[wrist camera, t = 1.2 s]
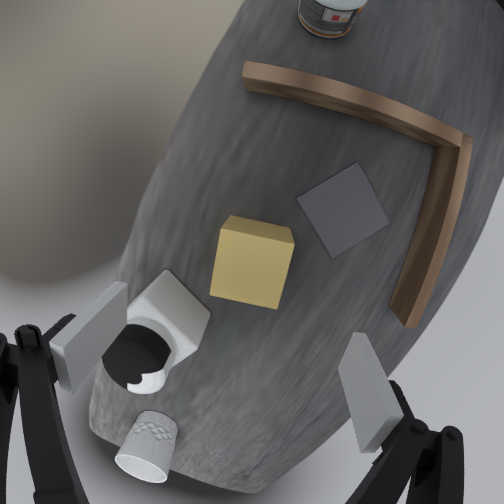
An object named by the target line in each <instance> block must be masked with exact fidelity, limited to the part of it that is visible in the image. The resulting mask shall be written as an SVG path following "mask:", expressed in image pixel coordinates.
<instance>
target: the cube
mask: <svg viewBox="0 0 504 504" xmlns="http://www.w3.org/2000/svg"><path fill="white" fill-rule="evenodd" d="M294 245H295V244H294V240H293V237H292V233H291V230H290V228H288V227H283V226H279V225H275V224H270V223H266V222H261V221H256V220H252V219H247V218H242V217H238V216H233V215H230V216H229V218H228V219H227V221H226V222H225V223H224V225H223V226H222V228H221V231H220V236H219V242H218V247H217V253H216V259H215V264H214V270H213V276H212V282H211V288H210V294H209V295H212V296H216V297H221V298H225V299H230V300H234V301H239V302H243V303H248V304H253V305H258V306H262V307H267V308H272V309H277V308H278V305H279V301H280V297H281V294H282V290H283V287H284V283H285V279H286V276H287V272H288V268H289V264H290V261H291V257H292V253H293V249H294Z"/></svg>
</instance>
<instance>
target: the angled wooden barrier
mask: <svg viewBox="0 0 504 504" xmlns="http://www.w3.org/2000/svg"><path fill="white" fill-rule="evenodd" d="M241 77H242V80H243V83H244V86H245V89H246V91H252V92H258V93H263V94H268V95H273V96H278V97H283V98H287V99H292V100H296V101H300V102H305V103H309V104H312V105H316V106H320V107H324V108H327V109H331V110H335V111H338V112H341V113H345V114H348V115H351V116H354V117H357V118H361V119H364V120H367V121H369V122H372V123H375V124H378V125H381V126H384V127H386V128H389V129H392V130H394V131H397V132H400V133H402V134H405V135H407V136H410V137H412V138H414V139H417V140H419V141H422V142H424V143H426V144H428V145H431V146H433V147H435V150H434V155H433V160H432V165H431V170H430V175H429V179H428V183H427V188H426V192H425V196H424V200H423V204H422V207H421V211H420V215H419V218H418V222H417V225H416V229H415V232H414V235H413V239H412V242H411V245H410V248H409V251H408V254H407V257H406V260H405V263H404V266H403V269H402V271H401V274H400V277H399V280H398V282H397V285H396V288H395V290H394V293H393V295H392V298H391V300H390V303H389V306H390V307H391V309H392V310H393V311H394V313H395V314H396V316H397V317H398V318H399V320H400V321H401V323H402V324H403V325H404V327H408V328H415V329H416V327H417V325H418V323H419V321H420V318H421V316H422V314H423V312H424V309H425V307H426V305H427V302H428V300H429V298H430V295H431V293H432V290H433V288H434V285H435V283H436V280H437V278H438V275H439V272H440V270H441V267H442V264H443V261H444V258H445V255H446V252H447V249H448V246H449V243H450V240H451V237H452V234H453V230H454V227H455V223H456V220H457V216H458V212H459V209H460V205H461V201H462V197H463V192H464V188H465V183H466V179H467V174H468V169H469V163H470V158H471V152H472V145H473V138H471V137H470V136H468V135H466V134H464V133H462V132H461V131H459V130H457V129H455V128H453V127H451V126H449V125H447V124H445V123H443V122H441V121H439V120H437V119H435V118H433V117H431V116H429V115H427V114H425V113H422V112H420V111H418V110H416V109H413V108H411V107H409V106H406V105H404V104H402V103H399V102H397V101H394V100H392V99H389V98H386V97H384V96H381V95H378V94H376V93H373V92H370V91H367V90H364V89H361V88H358V87H355V86H352V85H349V84H346V83H343V82H339V81H336V80H333V79H329V78H325V77H322V76H318V75H314V74H310V73H306V72H302V71H298V70H293V69H288V68H284V67H279V66H274V65H268V64H263V63H257V62H250V61H245V63H244V67H243V71H242V75H241Z"/></svg>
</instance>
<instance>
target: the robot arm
mask: <svg viewBox="0 0 504 504" xmlns="http://www.w3.org/2000/svg"><path fill="white" fill-rule="evenodd" d="M497 1H498V2H499V3H500V5H501V6H502V7H503V8H504V0H497ZM127 295H128V284H127V283H123V282H120V281H115V282H114V283H113V284H112V285H111V286H110V287H108V288H107V289H106V290H105V291H104V292H103V293H101V294H100V295H99V296H98V297H97V298H96V299H95V300H93V301H92V302H91V303H90V304H89V305H88V306H87V307H86V308H85V309H84V310H82V311H81V312H80V313H79V314H78V315H74V314H69V315H67V316H64V317H63V318H61V319H60V320H59V321H58V323H56V324H55V325H54V326H53V327H52V328H50V329H49V330H48V331H47V332H46V333H45V334H44V335H43V336H42V335H41V331H40V329H39V328H38V327H37V326H35V325H30V324H29V325H28V324H27V325H22V326H20V327H18V328H17V329H16V330H15V333H14V335H15V339H16V343H17V345H13V344H9V343H8V342H7V338H6V336H5V335H4V334H2V333H0V504H6V473H7V460H8V459H7V458H8V449H9V441H10V433H11V426H12V420H13V414H14V409H15V404H16V398H17V394H18V390H19V396H20V408H21V417H22V426H23V433H24V439H25V445H26V450H27V456H28V461H29V465H30V470H31V474H32V477H33V482H34V486H35V492H34V493H33V498H34V502H35V504H89V502H88V499H87V497H86V494H85V492H84V489H83V487H82V484H81V482H80V479H79V476H78V473H77V471H76V467H75V465H74V462H73V458H72V455H71V452H70V449H69V446H68V442H67V438H66V435H65V431H64V427H63V423H62V420H61V415H60V411H59V406H58V401H57V396H56V391H55V387H54V383H55V382H56V381H57V380H58V381H59V384H60V388H62V389H64V390H66V391H68V392H70V393H72V394H74V393H75V391H76V390H77V389H78V387H79V386H80V384H81V383H82V382H83V381H84V379H85V378H86V377H87V375H88V374H89V373H90V371H91V370H92V369H93V367H94V366H95V365H96V363H97V362H98V361H99V359H100V358H101V357H102V355H103V354H104V353H105V352H106V350H107V349H108V348H109V346H110V345H111V344H112V342H113V341H114V340H115V339H116V337H117V336H118V335H119V334H120V332H121V331H122V330H123V329H124V327H125V326H126V325H127ZM338 371H339V374H340V378H341V381H342V385H343V388H344V392H345V396H346V399H347V403H348V407H349V410H350V414H351V418H352V421H353V425H354V429H355V433H356V437H357V440H358V445H359V449H360V453H375V452H376V450H377V449H378V448H379V447H380V446H381V447H382V450H383V452H382V453H381V454H380V455H379V456H378V458H377V459H376V460H375V461H374V462H373V463H372V464H373V466H372V467H371V469H370V471H369V472H368V473H367V475H366V476H365V478H364V479H363V480H362V482H361V483H360V485H359V486H358V488H357V489H356V490H355V491H354V493H353V494H352V495H351V497H350V498H349V499H348V501H347V502H346V503H345V504H396V503H397V502H398V500H399V498H400V496H401V494H402V492H403V490H404V489H405V487H406V485H407V483H408V481H409V479H410V477H411V481H410V485H409V490H408V495H407V500H406V504H463V496H464V446H463V436H462V433H461V432H460V431H459V429H457V428H455V427H453V426H446V427H444V428H443V430H442V431H441V432H436V431H431V430H429V429H428V426H427V425H426V424H425V423H424V422H423V421H421V420H419V419H415V418H414V415H413V413H412V411H411V409H410V407H409V405H408V403H407V401H406V399H405V396H404V395H403V392H402V390H401V388H400V387H399V385H398V384H396V382H395V381H393V380H388V379H387V377H386V375H385V372H384V370H383V368H382V366H381V364H380V362H379V360H378V358H377V356H376V354H375V352H374V350H373V348H372V346H371V344H370V342H369V340H368V338H367V336H366V334H365V333H359V332H354V333H353V335H352V337H351V340H350V342H349V344H348V347H347V349H346V351H345V353H344V356H343V358H342V360H341V362H340V364H339V366H338Z"/></svg>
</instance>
